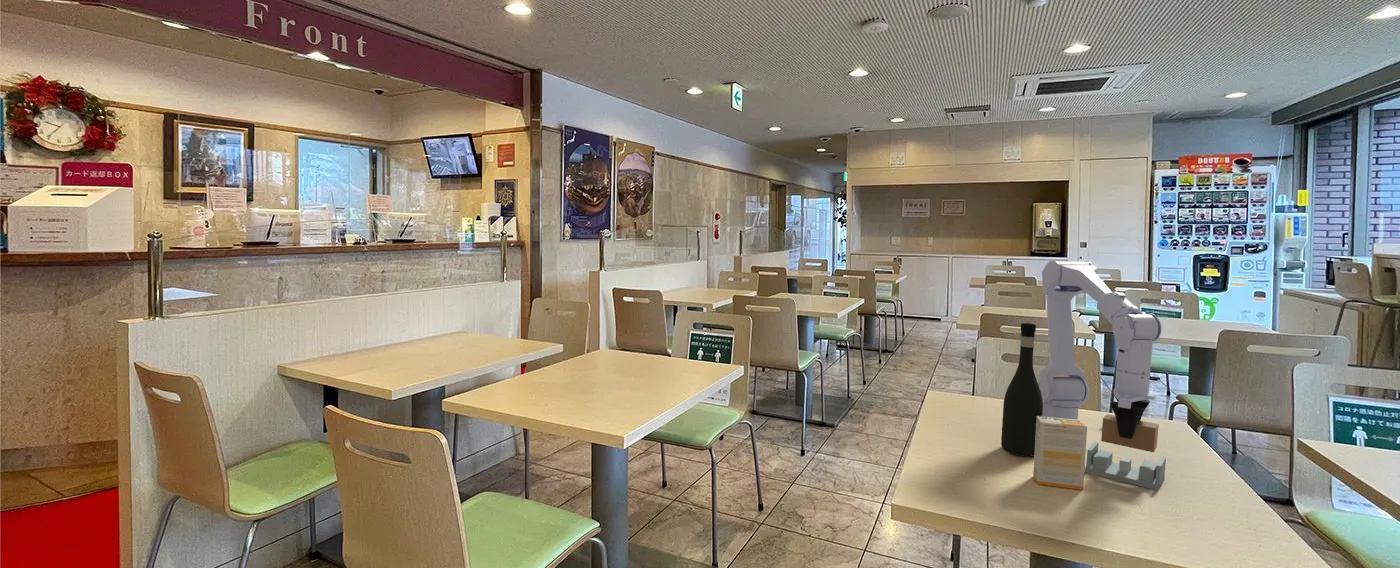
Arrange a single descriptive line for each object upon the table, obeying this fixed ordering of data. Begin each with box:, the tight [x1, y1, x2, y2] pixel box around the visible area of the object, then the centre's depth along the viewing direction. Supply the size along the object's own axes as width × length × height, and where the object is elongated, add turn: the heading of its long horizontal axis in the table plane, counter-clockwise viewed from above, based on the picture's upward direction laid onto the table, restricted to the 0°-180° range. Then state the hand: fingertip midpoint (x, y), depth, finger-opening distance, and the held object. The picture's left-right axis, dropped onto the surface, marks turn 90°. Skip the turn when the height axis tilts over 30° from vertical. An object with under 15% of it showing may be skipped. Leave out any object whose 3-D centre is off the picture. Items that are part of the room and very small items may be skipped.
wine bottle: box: [1000, 322, 1043, 457], centre depth 139 cm, size 8×8×30 cm
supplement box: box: [1032, 416, 1088, 491], centre depth 122 cm, size 8×5×13 cm, turn 71°
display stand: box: [1084, 441, 1167, 491], centre depth 127 cm, size 13×8×5 cm, turn 46°
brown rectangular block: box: [1100, 413, 1159, 453], centre depth 127 cm, size 9×4×5 cm, turn 46°
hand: (1127, 435), depth 127 cm, fingers closed on brown rectangular block, 4 cm apart
